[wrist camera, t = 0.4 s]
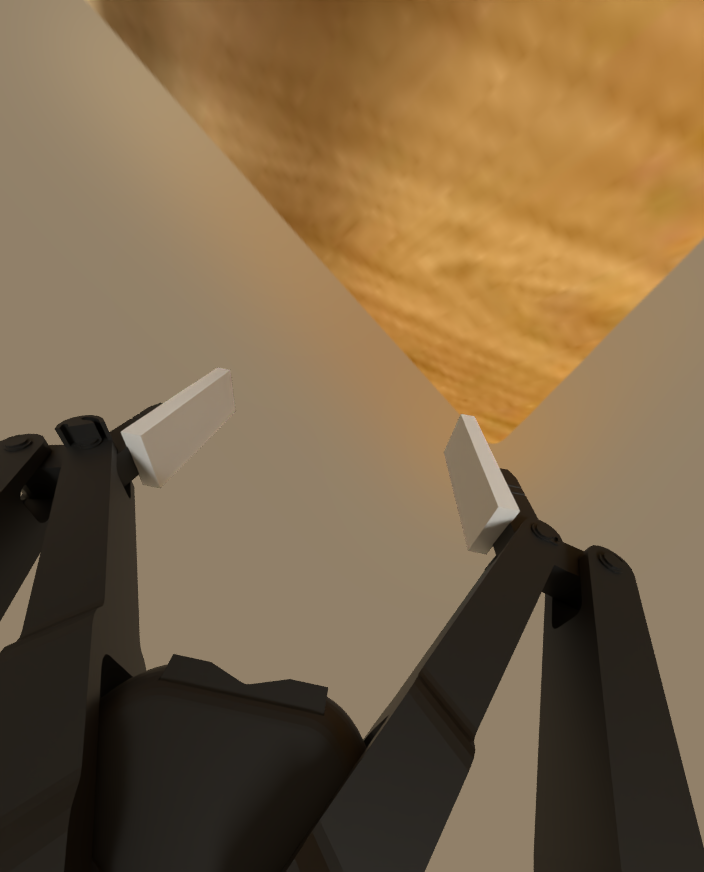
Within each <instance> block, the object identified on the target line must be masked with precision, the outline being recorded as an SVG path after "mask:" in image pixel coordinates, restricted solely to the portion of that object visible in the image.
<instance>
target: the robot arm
mask: <svg viewBox="0 0 704 872" xmlns="http://www.w3.org/2000/svg"><path fill="white" fill-rule="evenodd" d="M235 412H236V410H235V402H234V394H233V386H232V377H231V370H229V369H224V368H218V367H217V368H216V369H214V370H213V371H211V372H210V373H208V374H207V375H205V376H204V377H202V378H201V379H199V380H198V381H196V382H195V383H193V384H192V385H190V386H189V387H187V388H186V389H184V390H183V391H181V392H180V393H178V394H177V395H175V396H174V397H172V398H171V399H169V400H168V401H166V402H165V403H159V404H156V405H154V406H151V407H148V408H147V409H145V410H144V411H142V412H141V413H140V414H137V415H136V416H134V417H133V419H130V420H128V421H126V422H125V423H123V424H122V425H120V426H119V427H117V428H115V429H114V430H112V431H111V432H109V431H108V428H107V426H106V424H105V422H104V420H103V418H101V417H99V416H94V415H85V416H79V417H73V418H70V419H67V420H65V421H63V422H61V423H60V424H58V425H57V426H56V428H55V430H56V432H57V434H58V435H59V437H60V438H61V440H62V442H63V444H64V445H48V444H47V442H46V440H45V439H44V437H43V436H41V435H38V434H24V435H16V436H14V437H13V436H12V437H9V438H7V439H5V440H3V441H0V621H1V619H2V617H3V616H4V614H5V612H6V610H7V609H8V607H9V605H10V604H11V602H12V600H13V598H14V597H15V595H16V593H17V592H18V590H19V588H20V586H21V585H22V583H23V581H24V580H25V578H26V576H27V575H28V573H29V571H30V569H31V568H32V566H33V564H34V563H35V561H36V559H37V557H38V556H39V554H40V558H39V562H38V566H37V570H36V575H35V579H34V583H33V587H32V592H31V596H30V600H29V604H28V608H27V613H26V617H25V621H24V625H23V630H22V633H21V635H20V638H19V639H18V640H17V641H16V642H15V643H13V644H11V645H8V646H6V647H4V649H3V650H2V651H1V652H0V872H425V869H426V867H427V865H428V863H429V860H430V858H431V856H432V854H433V851H434V849H435V846H436V844H437V842H438V840H439V838H440V836H441V833H442V831H443V829H444V826H445V824H446V822H447V820H448V817H449V815H450V813H451V811H452V808H453V806H454V804H455V802H456V799H457V797H458V795H459V793H460V790H461V788H462V785H463V783H464V781H465V779H466V777H467V774H468V772H469V769H470V767H471V764H472V762H473V759H474V754H475V745H474V738H475V735H476V732H477V730H478V727H479V725H480V723H481V721H482V719H483V717H484V714H485V712H486V710H487V708H488V706H489V704H490V702H491V700H492V697H493V695H494V693H495V691H496V689H497V687H498V684H499V682H500V680H501V678H502V676H503V674H504V672H505V669H506V667H507V665H508V663H509V661H510V659H511V656H512V654H513V652H514V650H515V648H516V646H517V644H518V642H519V639H520V637H521V635H522V633H523V631H524V629H525V626H526V624H527V622H528V620H529V618H530V616H531V614H532V611H533V609H534V607H535V605H536V603H537V601H538V598H539V596H540V594H541V592H543V593H545V613H544V634H543V657H542V681H541V703H540V727H539V748H538V771H537V793H536V816H535V838H534V872H704V847H703V843H702V839H701V835H700V831H699V827H698V824H697V819H696V815H695V812H694V808H693V804H692V800H691V796H690V792H689V788H688V784H687V780H686V776H685V772H684V768H683V764H682V760H681V757H680V753H679V749H678V745H677V741H676V737H675V733H674V729H673V725H672V721H671V717H670V714H669V709H668V705H667V701H666V697H665V694H664V690H663V686H662V682H661V678H660V674H659V670H658V666H657V662H656V658H655V654H654V650H653V646H652V642H651V638H650V635H649V631H648V627H647V623H646V619H645V616H644V611H643V607H642V603H641V599H640V595H639V591H638V587H637V583H636V580H635V576H634V573H633V572H632V569H631V568H630V567H629V565H628V564H627V563H626V562H625V561H624V560H623V559H622V558H621V557H619V556H618V555H617V554H615V553H614V552H612V551H610V550H609V549H606V548H604V547H601V546H595V545H593V546H591V547H589V548H588V549H586V550H585V551H582V550H580V549H577V548H575V547H573V546H570V545H568V544H566V543H564V542H563V541H562V539H561V537H560V535H559V534H558V533H557V532H556V531H555V530H554V529H553V528H552V527H551V526H549V525H548V524H546V523H544V522H542V521H541V520H538V518H537V516H536V514H535V513H534V510H533V509H532V507H531V505H530V503H529V501H528V499H527V497H526V496H525V494H524V492H523V490H522V489H521V486H520V484H519V482H518V480H517V479H516V477H515V476H513V474H512V473H510V471H508V470H506V469H501V468H499V467H498V464H497V462H496V460H495V458H494V456H493V454H492V452H491V450H490V448H489V446H488V444H487V441H486V439H485V437H484V435H483V433H482V431H481V429H480V427H479V425H478V423H477V421H476V419H475V417H474V416H469V415H464V414H461V415H460V417H459V419H458V421H457V424H456V426H455V428H454V431H453V433H452V435H451V437H450V440H449V442H448V444H447V446H446V449H445V451H444V454H445V458H446V463H447V466H448V471H449V474H450V479H451V483H452V487H453V491H454V495H455V499H456V504H457V508H458V511H459V516H460V520H461V524H462V528H463V532H464V536H465V540H466V544H467V548H468V551H472V552H477V553H482V554H487V553H488V552H489V550H490V549H491V548H492V547H494V550H495V553H496V556H495V557H494V558H493V560H492V561H491V562H490V563H489V565H488V566H487V567H486V568H485V571H484V573H483V574H482V575H481V577H480V578H479V579H478V581H477V582H476V584H475V585H474V586H473V588H472V589H471V591H470V592H469V593H468V595H467V596H466V598H465V599H464V601H463V602H462V603H461V605H460V606H459V607H458V609H457V610H456V612H455V613H454V615H453V616H452V617H451V619H450V620H449V622H448V623H447V624H446V626H445V627H444V629H443V630H442V631H441V633H440V634H439V636H438V637H437V638H436V640H435V641H434V643H433V644H432V645H431V647H430V648H429V650H428V651H427V652H426V654H425V655H424V657H423V658H422V659H421V661H420V662H419V664H418V665H417V666H416V668H415V669H414V671H413V672H412V674H411V675H410V676H409V678H408V679H407V681H406V682H405V683H404V685H403V686H402V688H401V689H400V691H399V692H398V693H397V695H396V696H395V697H394V699H393V700H392V702H391V703H390V704H389V706H388V707H387V708H386V709H385V711H384V712H383V713H382V714H381V716H380V717H379V719H378V720H377V721H376V723H375V724H374V725H373V727H372V728H371V730H370V731H369V732H368V734H367V735H366V736H365V738H364V739H362V737H361V735H360V733H359V731H358V729H357V727H356V726H355V724H354V723H353V721H352V720H351V718H350V717H349V716H348V715H347V713H345V711H344V710H343V709H342V708H341V707H340V706H338V704H336V703H335V702H334V701H332V700H331V699H330V698H328V697H327V692H328V687H324V686H319V685H314V684H310V683H305V682H301V681H295V680H291V679H288V680H281V681H273V682H265V683H258V684H244V683H242V682H240V681H238V680H237V679H236V678H234V677H233V676H231V675H230V674H228V673H227V672H225V671H223V670H222V669H221V668H219V667H218V666H216V665H215V664H213V663H212V662H208V661H203V660H199V659H194V658H189V657H185V656H180V655H176V654H173V656H172V658H171V660H170V661H169V663H168V665H163V666H160V667H156V668H153V669H150V670H148V671H146V667H145V662H144V658H143V655H142V652H141V648H140V638H139V637H140V636H139V608H138V583H137V582H138V580H137V554H136V553H137V552H136V524H135V499H134V498H135V496H134V486H133V483H132V480H133V479H134V478H135V477H136V476H138V475H139V476H140V479H141V481H142V484H143V485H147V486H151V487H157V488H161V487H162V486H163V485H164V484H165V483H166V482H167V481H168V480H169V479H170V478H171V477H172V476H173V475H174V474H175V473H176V472H177V471H178V470H179V469H180V468H181V467H182V466H183V465H184V464H185V463H186V462H187V461H188V460H189V459H190V458H191V456H193V455H194V454H195V453H196V452H197V451H198V450H199V449H200V448H201V446H202V445H203V444H204V443H205V442H206V441H207V440H208V439H209V438H210V437H211V436H212V435H213V434H214V433H215V432H216V431H217V430H218V429H219V428H220V427H221V426H222V425H223V424H224V423H225V422H226V421H227V420H228V419H229V418H230V417H231V416H232V415H233V414H234V413H235ZM21 492H22V493H23V494H22V495H21ZM20 495H21V497H20ZM40 552H41V553H40Z"/></svg>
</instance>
